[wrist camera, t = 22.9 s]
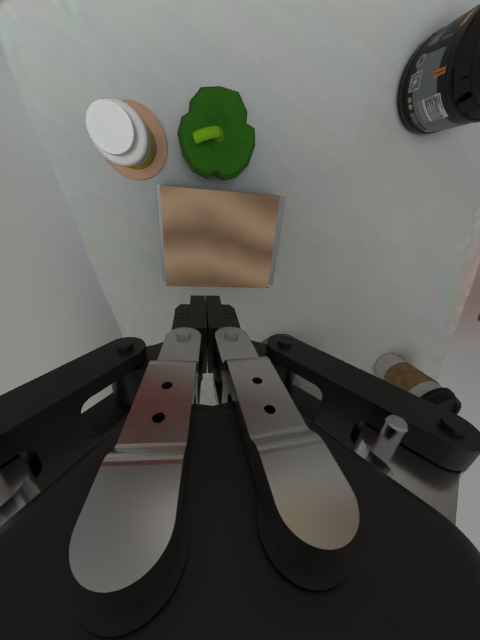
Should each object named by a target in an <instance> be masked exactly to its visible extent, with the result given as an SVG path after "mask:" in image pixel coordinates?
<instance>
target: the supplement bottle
mask: <svg viewBox="0 0 480 640" xmlns="http://www.w3.org/2000/svg"><path fill="white" fill-rule="evenodd" d="M86 126H87V130H88V133H89V135H90V137H91V139H92V140H93V142H94V144H95V146H96V147H97V149H98V150H99V151H100V153H101V154H102V155H103V156H104V157H106V158H107V159H108V160H110V161H111V162H113V163H115V164H118V165H121V166H124V167H128V168H131V169H136V170H140V169H144V168H146V167H148V166H149V165H150V164H151V163H152V162H153V160H154V158H155V155H156V142H155V138H154V136H153V133H152V132H151V130H150V128H149V127H148V126H147V124H146V123H145V122H144V121H143V119H142V118H141V117H140V115H139V114H138V113H137V112H136V111H135V110H134V109H133V108H132V107H131V106H129V105H128V104H127V103H125V102H123V101H121V100H118V99H99V100H96V101H94V102H93V103H92V104H91V105H90V106H89V108H88V110H87V113H86Z"/></svg>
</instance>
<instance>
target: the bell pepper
mask: <svg viewBox="0 0 480 640" xmlns="http://www.w3.org/2000/svg"><path fill="white" fill-rule="evenodd" d="M246 119H247V110H246V108H245V105H244V103H243V101H242V99H241V97H240V94H239V92H237V91H233V90H230V89H227V88H224V87H220V86H218V87H201V88H200V89H199V90H198V92H197V93H196V94H195V95H194V97H193V98H192V99H191V101H190V104H189V113H187V114H185V115H184V116H182V118H181V122H180V126H179V129H178V133H177V134H178V138H179V142H180V147H181V151H182V155H183V157H184V159H185V160H186V162H187V163H188V165H189V166H190V168H191V169H192V171H193V172H195V173H197V174H199V175H201V176H203V177H205V178H207V179H208V178H209V177H211V176H212V175H214V174H215V175H216V176H218V177H219V178H220V179H222V180H228V179H232V178H236V177H237V176H238V175H239V174H240V173H241V172H242V171H243V170H244V169H245V168H246V167H247V166H248V163H249V161H250V158H251V155H252V152H253V150H254V147H255V129H254V128H253V127H251V126H250V125H248V124H247V123H246Z"/></svg>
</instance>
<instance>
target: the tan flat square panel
mask: <svg viewBox="0 0 480 640" xmlns="http://www.w3.org/2000/svg"><path fill="white" fill-rule="evenodd" d="M160 198H161V212H162V227H163V242H164V257H165V271H166V286H201V287H251V288H268V282H269V275H270V267H271V260H272V253H273V245H274V238H275V230H276V223H277V216H278V208H279V201H280V196H275V195H263V194H252V193H241V192H229V191H218V190H206V189H195V188H184V187H172V186H161V185H160Z"/></svg>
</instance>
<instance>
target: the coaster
mask: <svg viewBox="0 0 480 640" xmlns="http://www.w3.org/2000/svg"><path fill="white" fill-rule="evenodd" d="M121 101H123V102H125V103H127V104H128V105H129V106H131V107H132V108H133V109H134V110H135V111H136V112H137V113H138V114H139V115H140V117H141V118H142V119H143V121H144V122H145V123H146V124H147V126H148V127H149V128H150V130H151V132H152V133H153V136H154V138H155V142H156V155H155V158H154V160H153V162H152V163H151V164H150V165H149V166H148V167H146V168H144V169H140V170H136V169H131V168H128V167H124V166H121V165H118V164H115V163H113V162H111V161H110V160H108V159H107V158H106V159H107V160H108V162H109V163H110V164H111V165H112V167H113V168H114V169H116V170H117V171H118V172H119V173H121V174H122V175H124V176H126V177H128V178H132V179H136V180H145V179H149V178H151V177H153V176H155V175H156V174H157V173H159V172H160V170H161V169H162V167H163V166H164V163H165V161H166V157H167V141H166V136H165V133H164V131H163V128H162V126H161V124H160V123H159V121H158V120H157V118H156V117H155V116H154V115H153V113H152V112H151V111H149V110H148V109H147V108H146V107H144V106H143V105H141V104H139V103H137V102H134V101H129V100H121Z"/></svg>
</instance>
